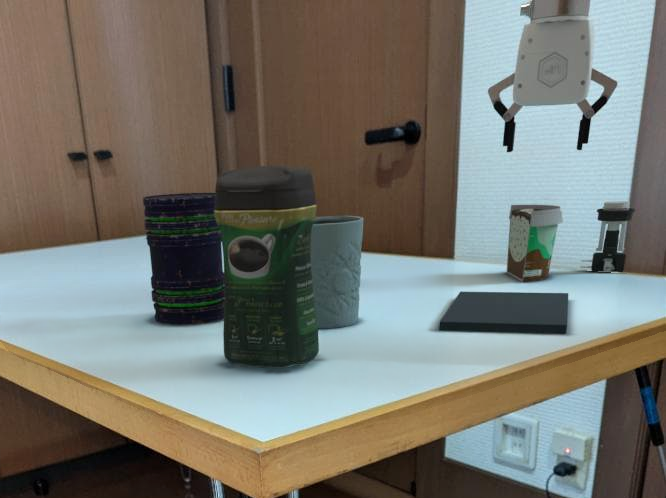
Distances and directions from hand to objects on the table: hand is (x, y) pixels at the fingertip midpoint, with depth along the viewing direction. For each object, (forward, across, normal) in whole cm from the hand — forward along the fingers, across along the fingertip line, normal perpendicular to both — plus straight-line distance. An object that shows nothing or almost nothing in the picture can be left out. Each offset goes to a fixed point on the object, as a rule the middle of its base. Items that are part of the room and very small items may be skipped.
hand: (544, 150), depth 117 cm
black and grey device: (+18, +11, +6) cm, 21 cm away
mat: (+17, -1, -30) cm, 35 cm away
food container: (+18, +1, 0) cm, 18 cm away
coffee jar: (+18, -23, -57) cm, 64 cm away
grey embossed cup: (+18, -23, -37) cm, 47 cm away
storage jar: (+18, -41, -37) cm, 58 cm away
